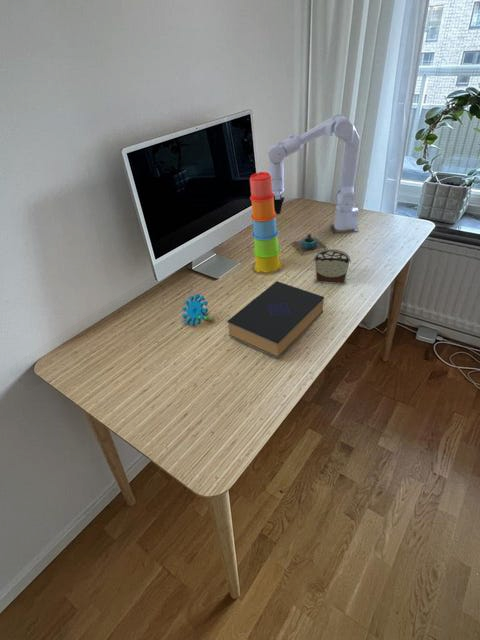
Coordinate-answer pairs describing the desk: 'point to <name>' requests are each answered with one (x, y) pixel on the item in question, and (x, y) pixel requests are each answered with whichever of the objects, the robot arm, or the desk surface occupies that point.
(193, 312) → the blue knobbed toy
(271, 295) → the book
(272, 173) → the robot arm
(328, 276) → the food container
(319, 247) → the ring toss
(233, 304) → the desk surface
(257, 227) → the stacking cups
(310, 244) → the ring
